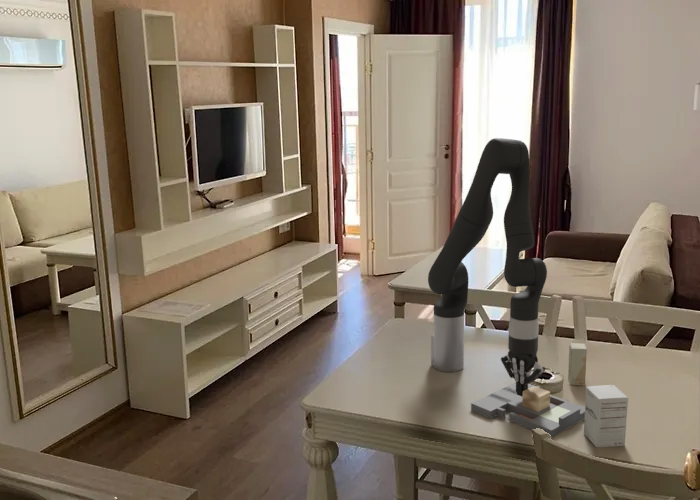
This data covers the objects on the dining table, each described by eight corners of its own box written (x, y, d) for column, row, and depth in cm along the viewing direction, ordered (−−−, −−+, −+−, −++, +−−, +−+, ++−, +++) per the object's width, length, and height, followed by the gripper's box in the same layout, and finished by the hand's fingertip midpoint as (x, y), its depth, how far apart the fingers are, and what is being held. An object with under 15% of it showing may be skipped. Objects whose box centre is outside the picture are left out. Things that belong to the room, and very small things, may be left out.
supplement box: (582, 433, 170) (585, 385, 168) (611, 431, 171) (614, 383, 168) (595, 448, 163) (598, 398, 160) (625, 446, 164) (629, 396, 161)
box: (585, 386, 197) (587, 349, 195) (569, 385, 198) (571, 348, 195) (583, 378, 202) (584, 343, 200) (567, 377, 203) (569, 342, 200)
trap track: (471, 410, 184) (471, 398, 183) (521, 386, 198) (521, 375, 197) (545, 441, 167) (545, 428, 166) (594, 413, 181) (595, 400, 180)
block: (522, 405, 182) (522, 391, 181) (533, 399, 185) (534, 386, 184) (538, 411, 178) (538, 397, 177) (549, 406, 181) (550, 391, 180)
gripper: (553, 336, 178) (551, 398, 182) (511, 324, 188) (509, 383, 191) (536, 343, 173) (534, 407, 177) (494, 330, 183) (492, 391, 187)
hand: (521, 394), depth 184 cm, fingers closed
